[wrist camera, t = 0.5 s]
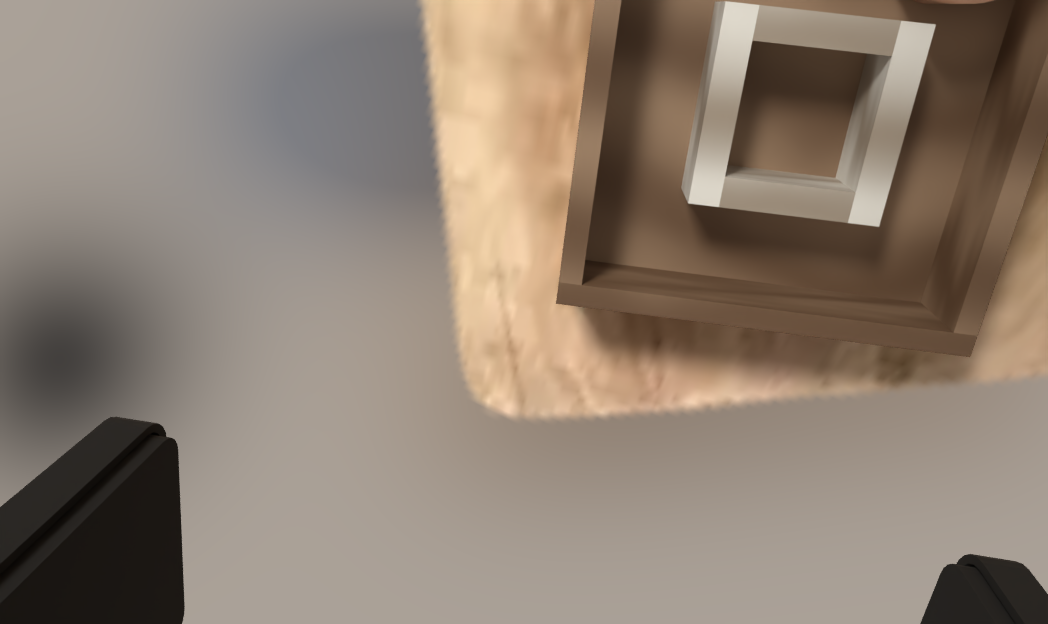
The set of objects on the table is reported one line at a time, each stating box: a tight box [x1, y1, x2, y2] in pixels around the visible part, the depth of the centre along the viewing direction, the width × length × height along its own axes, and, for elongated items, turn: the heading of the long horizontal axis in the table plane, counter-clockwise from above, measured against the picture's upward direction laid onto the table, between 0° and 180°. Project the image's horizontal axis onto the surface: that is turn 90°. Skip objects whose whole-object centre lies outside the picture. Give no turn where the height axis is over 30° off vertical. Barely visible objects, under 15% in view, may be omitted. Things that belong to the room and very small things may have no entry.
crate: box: [556, 0, 1048, 357], centre depth 33 cm, size 20×18×4 cm
